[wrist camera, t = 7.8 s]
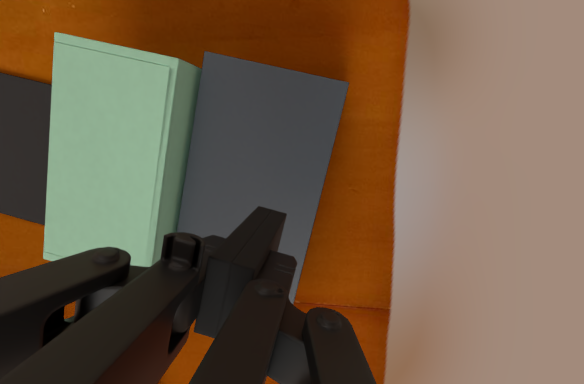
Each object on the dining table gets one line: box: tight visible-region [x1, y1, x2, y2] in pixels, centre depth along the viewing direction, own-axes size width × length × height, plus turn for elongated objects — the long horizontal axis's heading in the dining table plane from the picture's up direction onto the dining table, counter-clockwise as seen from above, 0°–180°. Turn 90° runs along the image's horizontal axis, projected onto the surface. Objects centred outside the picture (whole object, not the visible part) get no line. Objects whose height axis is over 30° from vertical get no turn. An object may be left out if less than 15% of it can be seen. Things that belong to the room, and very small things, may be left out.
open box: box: [43, 32, 202, 267], centre depth 26 cm, size 16×8×8 cm
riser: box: [177, 51, 349, 304], centre depth 26 cm, size 18×10×6 cm, turn 167°
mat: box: [0, 73, 52, 225], centre depth 31 cm, size 14×31×1 cm, turn 77°
